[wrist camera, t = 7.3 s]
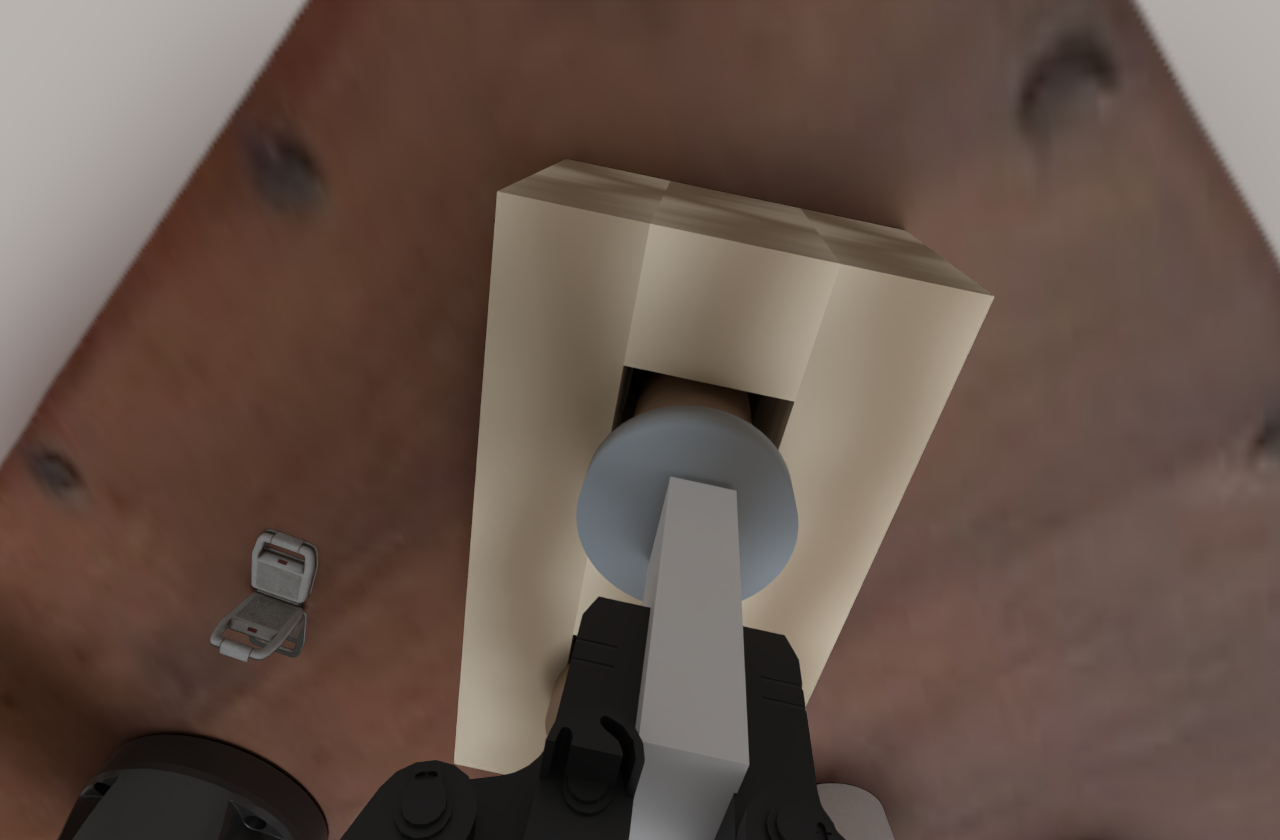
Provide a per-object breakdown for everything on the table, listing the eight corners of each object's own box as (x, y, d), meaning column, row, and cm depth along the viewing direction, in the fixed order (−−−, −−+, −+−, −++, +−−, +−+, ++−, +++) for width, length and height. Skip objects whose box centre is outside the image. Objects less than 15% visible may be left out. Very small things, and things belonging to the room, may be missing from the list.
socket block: (510, 616, 33) (453, 763, 25) (565, 159, 22) (497, 191, 15) (742, 666, 32) (750, 827, 25) (905, 230, 22) (994, 296, 15)
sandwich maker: (266, 520, 32) (205, 578, 28) (325, 542, 32) (272, 602, 28) (252, 635, 36) (197, 699, 32) (305, 653, 36) (257, 719, 32)
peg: (613, 420, 24) (563, 586, 16) (637, 289, 22) (593, 407, 14) (747, 449, 24) (763, 629, 16) (786, 321, 22) (828, 457, 14)
